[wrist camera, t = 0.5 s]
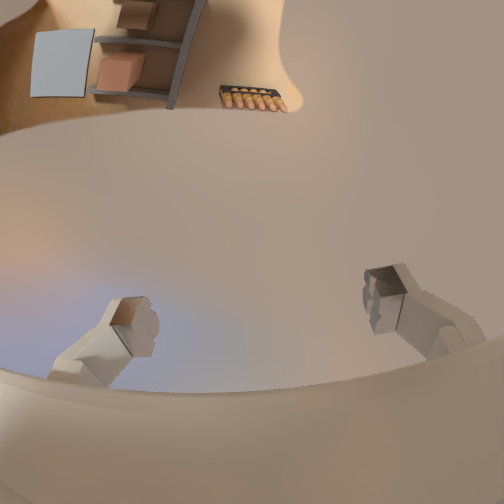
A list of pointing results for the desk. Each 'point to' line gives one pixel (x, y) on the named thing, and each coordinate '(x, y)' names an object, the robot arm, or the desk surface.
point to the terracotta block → (120, 71)
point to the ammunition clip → (252, 98)
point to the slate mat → (61, 62)
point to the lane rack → (183, 46)
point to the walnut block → (137, 15)
